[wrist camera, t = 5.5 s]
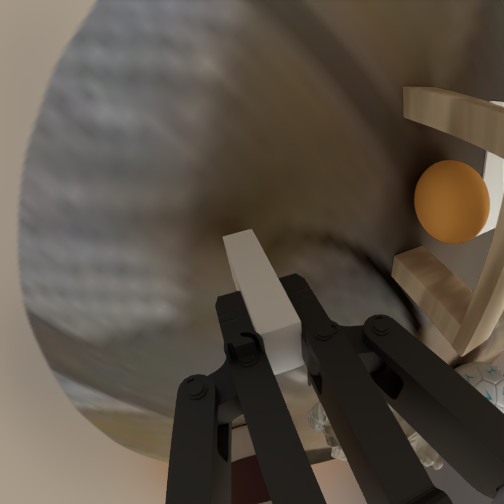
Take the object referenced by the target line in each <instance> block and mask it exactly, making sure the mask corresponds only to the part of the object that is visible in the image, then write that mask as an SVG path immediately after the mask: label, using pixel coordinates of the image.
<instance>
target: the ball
mask: <svg viewBox="0 0 504 504" xmlns="http://www.w3.org/2000/svg"><path fill="white" fill-rule="evenodd" d="M414 204H415V211H416V214H417V217H418V219H419V221H420V223H421V225H422V226H423V228H424V229H425V230H426V231H427V232H428V233H429V234H430V235H431V236H432V237H434V238H435V239H437V240H439V241H441V242H444V243H448V244H460V243H464V242H467V241H469V240H471V239H473V238H474V237H475V236H477V235H478V234H479V233H480V231H481V230H482V229H483V227H484V226H485V224H486V222H487V219H488V216H489V211H490V197H489V192H488V189H487V186H486V184H485V182H484V180H483V179H482V177H481V176H480V175H479V173H478V172H477V171H476V170H475V169H473V168H472V167H471V166H469V165H467V164H465V163H463V162H460V161H456V160H444V161H440V162H437V163H435V164H433V165H432V166H430V167H429V168H428V169H427V170H426V171H425V172H424V173H423V174H422V176H421V177H420V179H419V181H418V183H417V185H416V189H415V195H414Z"/></svg>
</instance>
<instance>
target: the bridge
mask: <svg viewBox="0 0 504 504" xmlns="http://www.w3.org/2000/svg"><path fill="white" fill-rule="evenodd" d="M403 118H406V119H409V120H412V121H415V122H418V123H421V124H424V125H427V126H429V127H432V128H435V129H437V130H440V131H442V132H445V133H447V134H450V135H452V136H455V137H457V138H460V139H462V140H464V141H467V142H469V143H471V144H473V145H476V146H478V147H480V148H482V149H484V150H486V151H488V152H491V153H493V154H495V155H497V156H499V157H501V158H503V159H504V107H503V106H500V105H497V104H494V103H491V102H488V101H485V100H481V99H478V98H475V97H471V96H468V95H464V94H461V93H457V92H453V91H449V90H445V89H441V88H437V87H411V86H403ZM391 276H392V277H393V278H394V279H395V280H396V281H397V283H398V284H399V285H400V286H401V287H402V288H403V289H404V290H405V291H406V293H407V294H408V295H409V296H410V297H411V298H412V299H413V300H414V302H415V303H416V304H417V305H418V306H419V307H420V308H421V310H422V311H423V312H424V313H425V314H426V315H427V316H428V318H429V319H430V320H431V321H432V322H433V324H434V325H435V326H436V327H437V328H438V329H439V331H440V332H441V333H442V334H443V335H444V337H445V338H446V339H447V340H448V342H449V343H450V344H451V345H452V347H453V348H454V349H455V350H456V352H457V353H458V354H459V355H460V357H463V356H464V355H466V354H467V353H469V352H470V351H471V350H473V349H474V348H476V347H477V346H479V345H480V344H481V343H483V342H484V341H486V340H487V339H488V338H489V336H490V335H491V333H492V331H493V329H494V327H495V325H496V323H497V322H498V320H499V318H500V316H501V314H502V312H503V310H504V194H503V199H502V203H501V208H500V212H499V216H498V220H497V224H496V228H495V232H494V235H493V239H492V242H491V246H490V249H489V252H488V255H487V259H486V262H485V265H484V268H483V271H482V273H481V276H480V279H479V282H478V285H477V287H476V290H475V292H474V293H473V292H472V291H471V290H470V289H469V288H468V287H467V286H466V285H465V284H464V283H463V282H462V281H461V280H460V279H459V278H457V277H456V276H455V275H454V274H453V273H452V272H451V271H450V270H449V269H448V268H447V267H446V266H445V265H444V264H442V263H441V262H440V261H439V260H438V259H437V258H436V257H435V256H434V255H432V254H431V253H430V252H429V251H428V250H427V249H426V248H425V247H423V246H420V247H417V248H414V249H411V250H409V251H406V252H403V253H400V254H398V255H395V256H394V261H393V267H392V274H391Z"/></svg>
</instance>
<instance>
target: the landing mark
mask: <svg viewBox="0 0 504 504" xmlns="http://www.w3.org/2000/svg"><path fill="white" fill-rule="evenodd" d="M489 102H491V103H494V104H497V105H500V106H503V107H504V102H499V101H489ZM482 179H483V180H484V182H485V184H486V186H487V189H488V192H489V197H490V211H489V216H488V219H487V222H486V224H485V226H484V227H483V229H482V230H481V231H480V233H479V234H478V235H480V234H482V233H485V232H487V231H489V230H491V229H493V228H496V224H497V220H498V216H499V212H500V208H501V203H502V199H503V194H504V159H503V158H501V157H499V156H497V155H495V154H493V153H491V152H488V151H486V153H485V161H484V169H483V176H482ZM478 235H477V236H478ZM475 237H476V236H475Z"/></svg>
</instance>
